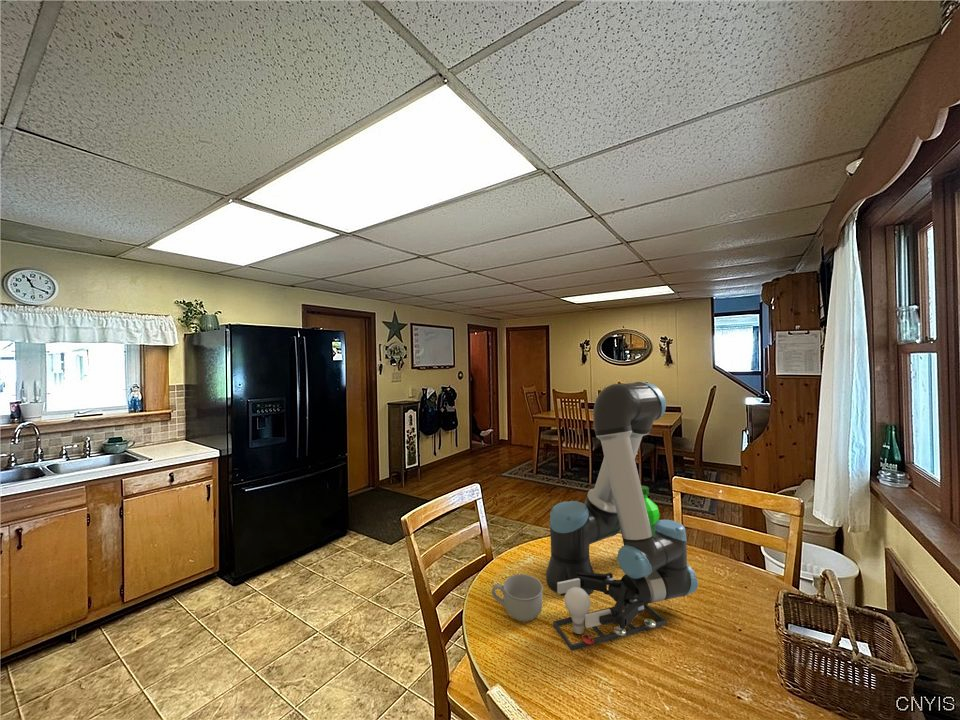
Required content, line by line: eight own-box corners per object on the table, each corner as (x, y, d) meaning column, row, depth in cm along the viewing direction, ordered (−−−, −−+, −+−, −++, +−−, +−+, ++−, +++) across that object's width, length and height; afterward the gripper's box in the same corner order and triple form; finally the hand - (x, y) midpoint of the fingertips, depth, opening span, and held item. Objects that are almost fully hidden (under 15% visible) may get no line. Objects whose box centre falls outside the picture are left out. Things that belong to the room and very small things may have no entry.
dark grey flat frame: (553, 626, 98) (553, 619, 98) (641, 604, 106) (641, 598, 106) (573, 654, 88) (573, 647, 88) (669, 628, 96) (669, 621, 96)
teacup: (546, 605, 106) (545, 577, 106) (539, 632, 96) (538, 600, 96) (498, 597, 111) (498, 569, 111) (487, 621, 100) (486, 590, 100)
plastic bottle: (656, 572, 121) (654, 494, 121) (623, 562, 128) (621, 488, 128) (664, 559, 129) (662, 486, 129) (632, 550, 136) (630, 480, 136)
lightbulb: (588, 624, 98) (587, 582, 98) (593, 642, 92) (592, 597, 92) (564, 623, 99) (562, 581, 99) (567, 641, 92) (565, 596, 92)
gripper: (679, 633, 88) (600, 655, 82) (613, 576, 112) (548, 590, 106) (678, 601, 88) (599, 620, 82) (612, 551, 112) (548, 563, 106)
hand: (570, 603), depth 94 cm, fingers open, 13 cm apart
